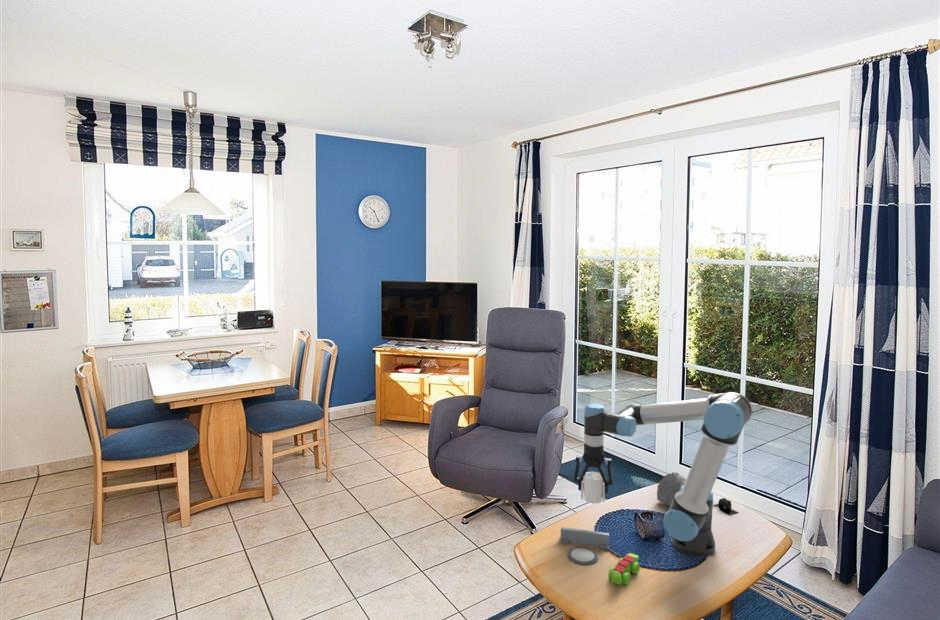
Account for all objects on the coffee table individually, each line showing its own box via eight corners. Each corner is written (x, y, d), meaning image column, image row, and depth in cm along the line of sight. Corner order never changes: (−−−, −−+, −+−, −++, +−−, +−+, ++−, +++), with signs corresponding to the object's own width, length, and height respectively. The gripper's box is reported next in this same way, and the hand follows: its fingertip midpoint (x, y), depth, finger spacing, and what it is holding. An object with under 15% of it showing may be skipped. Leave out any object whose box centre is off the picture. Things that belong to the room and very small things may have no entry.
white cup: (603, 505, 217) (603, 480, 216) (582, 503, 219) (583, 479, 218) (602, 496, 225) (603, 472, 224) (582, 494, 227) (583, 470, 225)
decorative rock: (654, 501, 248) (656, 469, 246) (663, 497, 252) (665, 465, 250) (688, 516, 235) (690, 482, 233) (697, 511, 239) (699, 478, 237)
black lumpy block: (742, 514, 237) (743, 504, 237) (730, 518, 234) (731, 508, 233) (718, 502, 248) (718, 492, 248) (706, 506, 245) (707, 496, 245)
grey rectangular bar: (608, 543, 215) (609, 530, 214) (608, 550, 210) (608, 537, 210) (561, 536, 220) (561, 524, 219) (560, 543, 215) (560, 531, 214)
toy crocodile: (626, 559, 205) (627, 543, 204) (644, 566, 201) (645, 550, 200) (602, 585, 190) (603, 568, 189) (621, 593, 185) (622, 576, 185)
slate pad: (598, 550, 210) (598, 548, 210) (597, 567, 200) (597, 565, 200) (568, 546, 213) (569, 544, 213) (565, 562, 203) (566, 560, 203)
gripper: (621, 442, 220) (619, 497, 223) (568, 438, 225) (567, 492, 228) (620, 449, 213) (619, 506, 216) (566, 444, 218) (565, 500, 221)
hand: (592, 499), depth 222 cm, fingers closed on white cup, 7 cm apart
